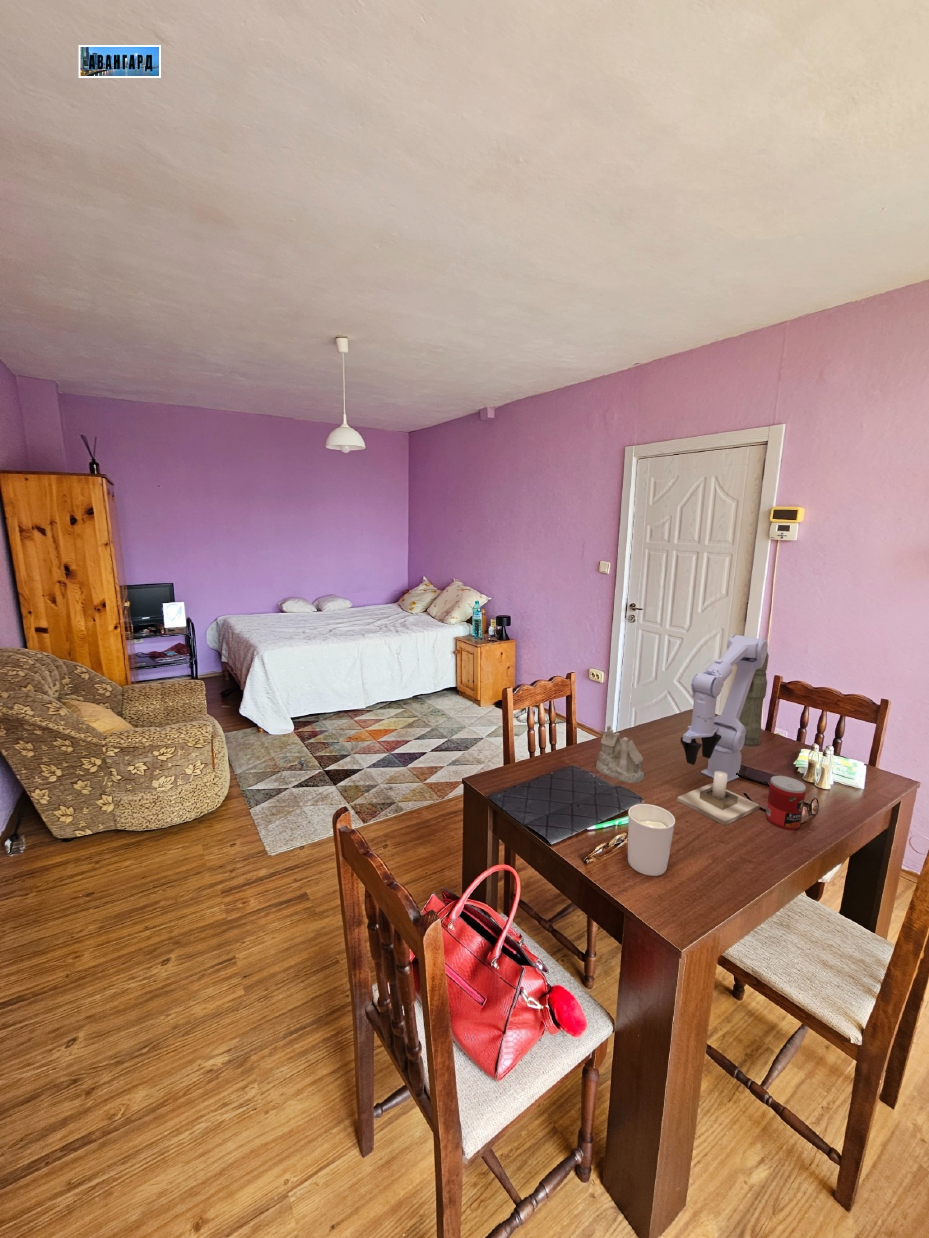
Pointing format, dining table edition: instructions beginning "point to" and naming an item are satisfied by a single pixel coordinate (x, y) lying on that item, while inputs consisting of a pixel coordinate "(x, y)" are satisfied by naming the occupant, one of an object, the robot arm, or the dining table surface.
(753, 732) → the green stone statue
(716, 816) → the candle stand
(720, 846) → the dining table surface
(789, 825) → the canned food
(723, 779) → the ivory candle
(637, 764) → the ceramic cottage
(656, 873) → the candle holder
